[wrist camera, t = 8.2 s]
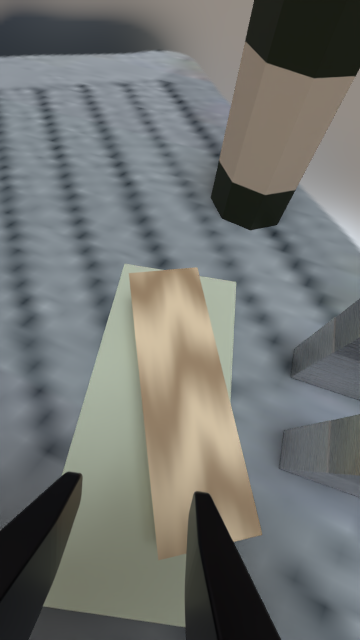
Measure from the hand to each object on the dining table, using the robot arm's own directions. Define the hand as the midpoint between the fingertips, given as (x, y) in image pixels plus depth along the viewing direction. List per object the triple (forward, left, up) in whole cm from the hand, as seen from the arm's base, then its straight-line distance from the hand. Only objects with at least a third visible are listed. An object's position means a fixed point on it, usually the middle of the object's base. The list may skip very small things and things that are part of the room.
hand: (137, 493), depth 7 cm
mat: (+2, +4, -11) cm, 12 cm away
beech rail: (0, +5, -9) cm, 10 cm away
